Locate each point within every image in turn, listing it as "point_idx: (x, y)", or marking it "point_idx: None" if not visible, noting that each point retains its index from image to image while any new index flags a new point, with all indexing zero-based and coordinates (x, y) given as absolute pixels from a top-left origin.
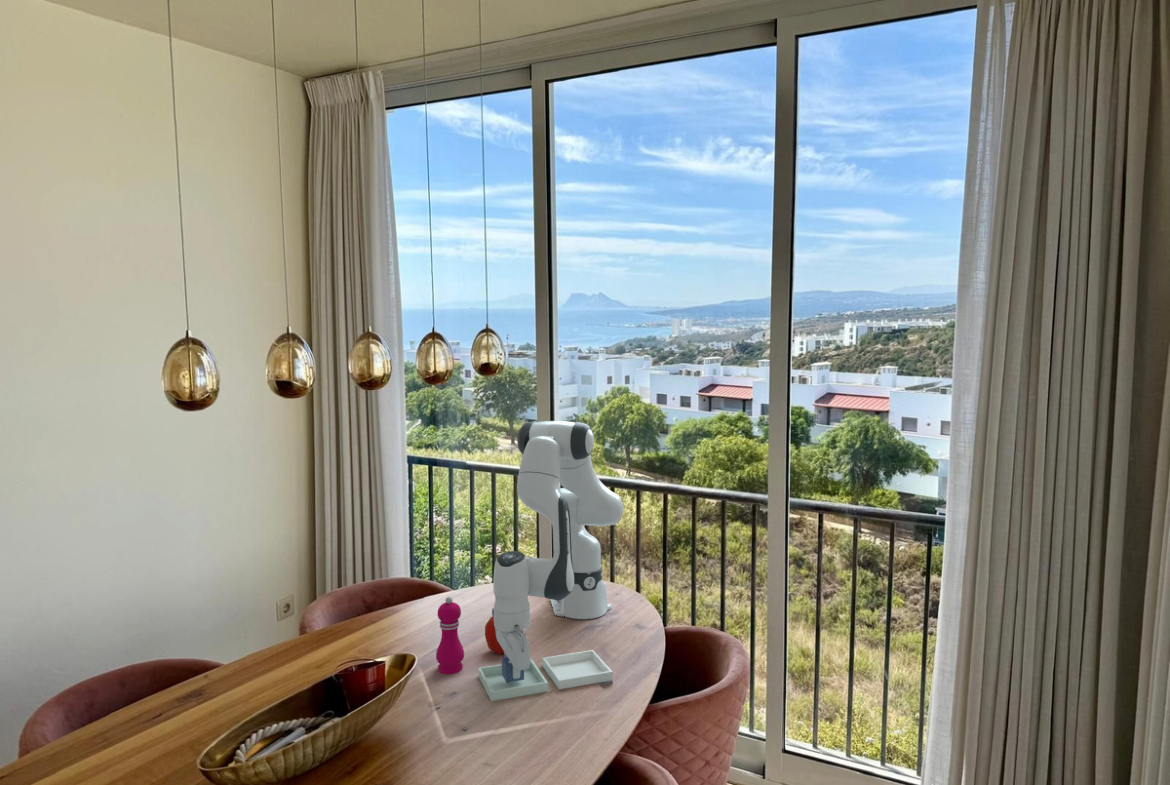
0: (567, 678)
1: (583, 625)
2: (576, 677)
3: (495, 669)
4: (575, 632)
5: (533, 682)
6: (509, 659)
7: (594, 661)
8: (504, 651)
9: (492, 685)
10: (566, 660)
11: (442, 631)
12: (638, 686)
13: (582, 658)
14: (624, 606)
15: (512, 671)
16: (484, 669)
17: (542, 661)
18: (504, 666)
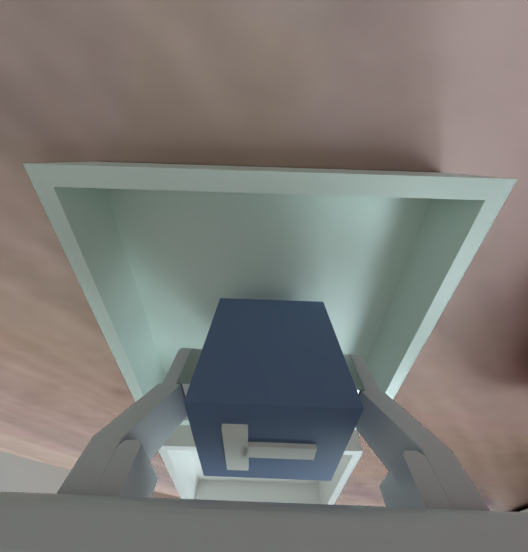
0: (168, 460)
1: (501, 500)
2: (170, 473)
3: (418, 288)
4: (485, 487)
5: None
6: (66, 526)
7: (297, 486)
8: (340, 537)
9: (284, 225)
10: None
11: None
12: (171, 489)
13: (323, 481)
14: None
15: (183, 380)
16: (459, 224)
17: (355, 435)
18: (254, 367)
